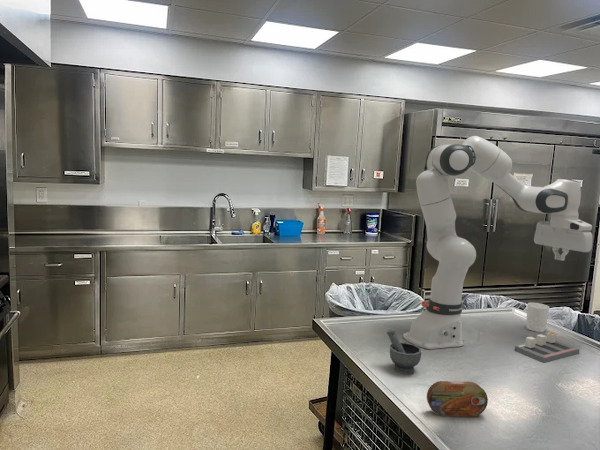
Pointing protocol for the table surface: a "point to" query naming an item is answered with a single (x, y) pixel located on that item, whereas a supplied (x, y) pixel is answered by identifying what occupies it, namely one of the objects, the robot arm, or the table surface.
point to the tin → (457, 398)
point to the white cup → (537, 316)
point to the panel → (548, 351)
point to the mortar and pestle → (403, 354)
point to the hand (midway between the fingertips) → (559, 259)
